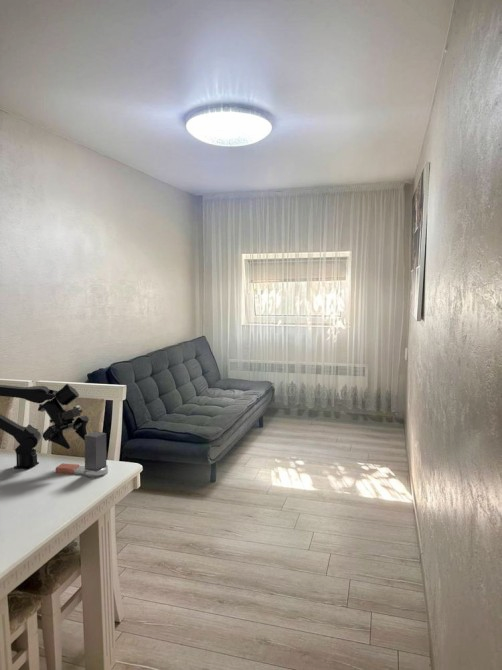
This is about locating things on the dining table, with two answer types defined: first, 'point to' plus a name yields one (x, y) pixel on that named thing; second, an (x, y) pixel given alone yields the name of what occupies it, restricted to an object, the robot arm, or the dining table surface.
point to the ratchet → (80, 470)
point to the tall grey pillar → (95, 451)
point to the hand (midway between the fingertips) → (78, 444)
